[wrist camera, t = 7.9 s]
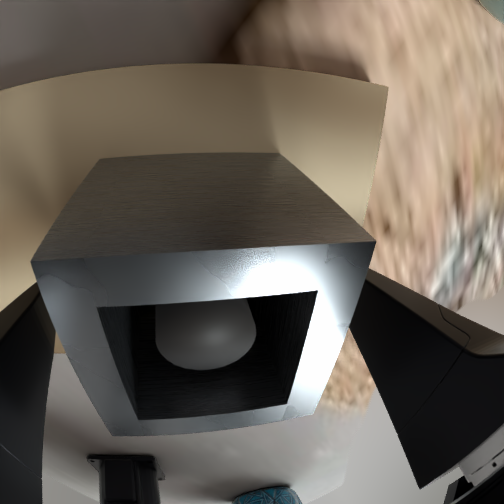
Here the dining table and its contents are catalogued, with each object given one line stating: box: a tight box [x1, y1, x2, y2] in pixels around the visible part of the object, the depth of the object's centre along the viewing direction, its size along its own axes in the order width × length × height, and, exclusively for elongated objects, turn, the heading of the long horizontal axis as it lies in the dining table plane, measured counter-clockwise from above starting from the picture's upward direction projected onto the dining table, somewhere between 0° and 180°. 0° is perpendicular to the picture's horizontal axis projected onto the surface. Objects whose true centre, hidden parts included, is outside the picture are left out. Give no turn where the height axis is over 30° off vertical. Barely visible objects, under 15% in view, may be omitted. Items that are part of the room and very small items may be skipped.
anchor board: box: [0, 63, 388, 370], centre depth 9 cm, size 12×18×6 cm, turn 86°
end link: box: [30, 152, 376, 436], centre depth 9 cm, size 6×6×6 cm
